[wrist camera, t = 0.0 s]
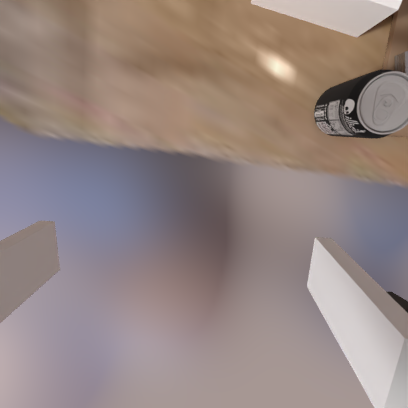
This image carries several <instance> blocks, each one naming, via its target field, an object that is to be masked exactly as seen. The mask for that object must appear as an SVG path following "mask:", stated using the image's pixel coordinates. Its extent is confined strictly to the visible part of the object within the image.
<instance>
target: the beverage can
mask: <svg viewBox="0 0 408 408" xmlns="http://www.w3.org/2000/svg"><path fill="white" fill-rule="evenodd" d="M314 117H315V121H316V124H317V126H318V127H319V128H320V130H321V131H323V132H324V133H326V134H328V135H331V136H344V137H360V138H381V137H385V136H388V135H390V134H392V133H394V132H397V131H399V130H401V129H402V128H404V127H405V126H406V125H407V124H408V74H406V73H403V72H398V71H393V70H378V71H375V72H372V73H369V74H366V75H364V76H361V77H358V78H355V79H353V80H350V81H347V82H345V83H342V84H339V85H336V86H334V87H331V88H329V89H328V90H326V91H325V92H324V93H323V94H322V95H321V96H320V98H319V99H318V101H317V103H316V106H315V111H314Z"/></svg>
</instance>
